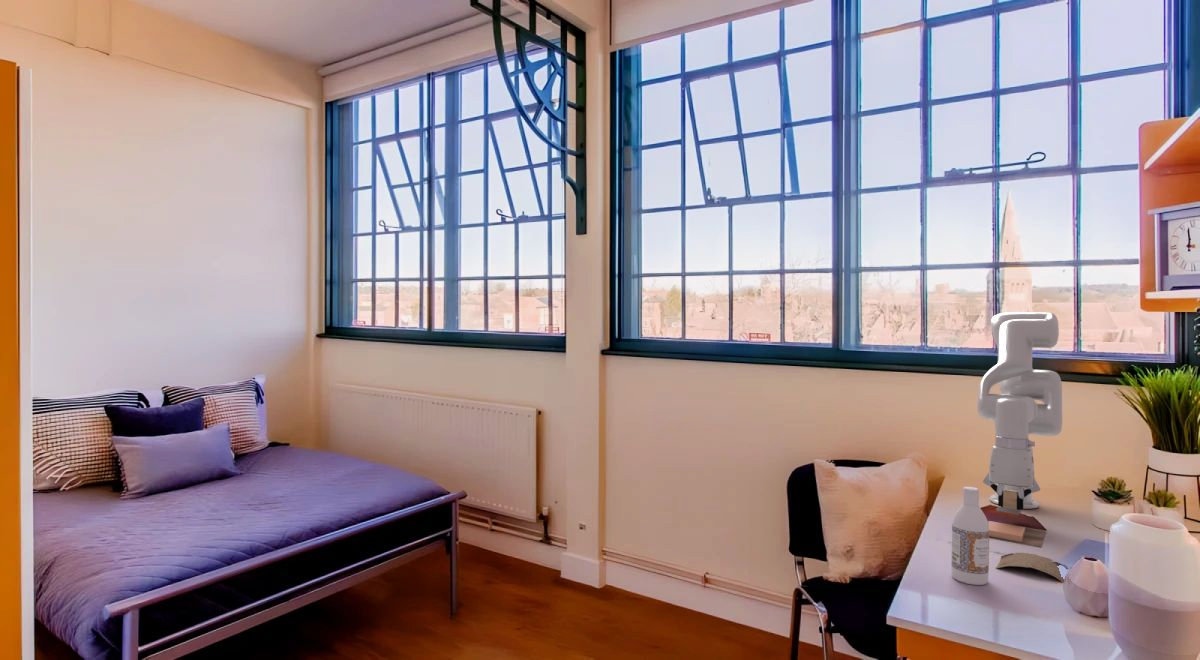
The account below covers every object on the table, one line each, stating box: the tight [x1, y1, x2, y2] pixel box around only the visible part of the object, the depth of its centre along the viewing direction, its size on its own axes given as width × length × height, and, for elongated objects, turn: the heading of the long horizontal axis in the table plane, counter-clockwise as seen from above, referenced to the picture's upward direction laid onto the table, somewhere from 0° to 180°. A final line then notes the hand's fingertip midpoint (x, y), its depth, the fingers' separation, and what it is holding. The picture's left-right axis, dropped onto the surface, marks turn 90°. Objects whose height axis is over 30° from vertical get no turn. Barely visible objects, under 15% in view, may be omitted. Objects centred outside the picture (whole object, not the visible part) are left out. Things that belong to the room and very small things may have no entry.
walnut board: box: [987, 520, 1047, 549], centre depth 162 cm, size 16×14×2 cm
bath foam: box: [950, 486, 990, 586], centre depth 136 cm, size 7×7×20 cm
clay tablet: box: [995, 552, 1065, 583], centre depth 142 cm, size 14×10×3 cm
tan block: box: [995, 490, 1022, 515], centre depth 169 cm, size 12×5×5 cm, turn 141°
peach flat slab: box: [988, 520, 1026, 542], centre depth 161 cm, size 2×8×9 cm
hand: (1010, 509), depth 170 cm, fingers closed on tan block, 3 cm apart
